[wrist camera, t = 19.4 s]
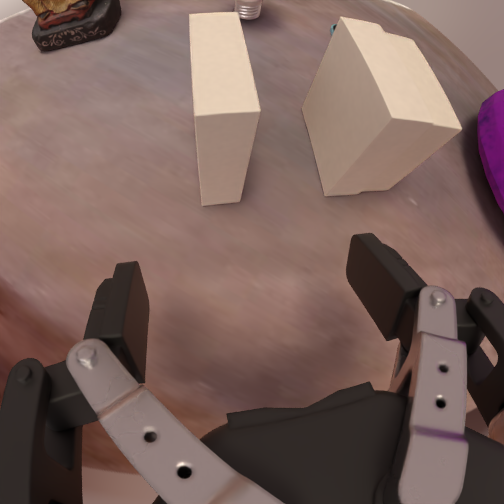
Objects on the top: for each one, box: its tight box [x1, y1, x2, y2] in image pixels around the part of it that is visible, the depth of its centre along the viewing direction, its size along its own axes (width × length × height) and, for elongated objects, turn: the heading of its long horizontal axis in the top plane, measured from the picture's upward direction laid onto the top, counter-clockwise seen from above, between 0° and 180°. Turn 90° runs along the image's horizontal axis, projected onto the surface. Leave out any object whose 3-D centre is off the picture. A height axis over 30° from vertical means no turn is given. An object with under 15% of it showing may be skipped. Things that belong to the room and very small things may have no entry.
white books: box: [301, 17, 462, 196], centre depth 18 cm, size 6×8×10 cm
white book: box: [189, 12, 261, 206], centre depth 17 cm, size 3×8×10 cm, turn 8°
